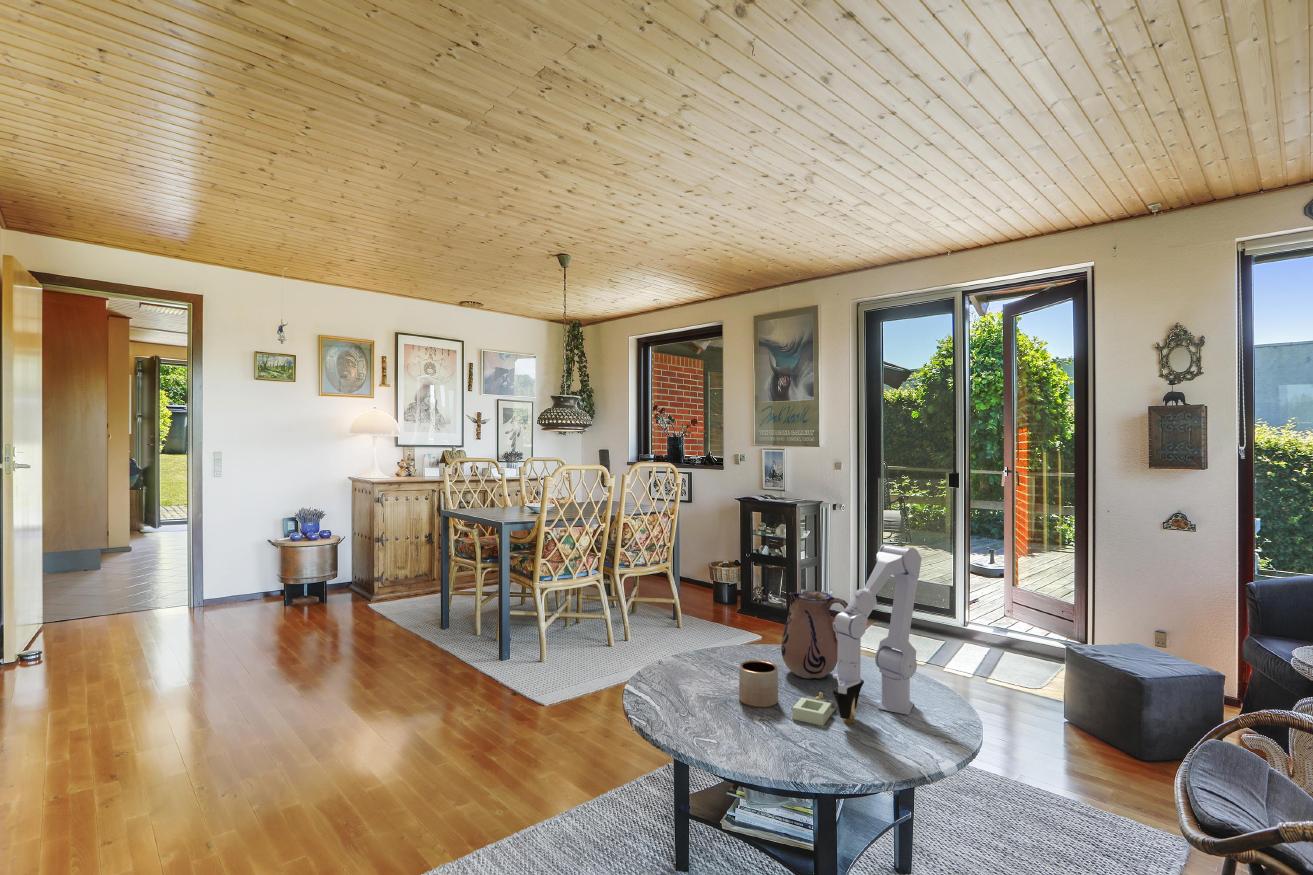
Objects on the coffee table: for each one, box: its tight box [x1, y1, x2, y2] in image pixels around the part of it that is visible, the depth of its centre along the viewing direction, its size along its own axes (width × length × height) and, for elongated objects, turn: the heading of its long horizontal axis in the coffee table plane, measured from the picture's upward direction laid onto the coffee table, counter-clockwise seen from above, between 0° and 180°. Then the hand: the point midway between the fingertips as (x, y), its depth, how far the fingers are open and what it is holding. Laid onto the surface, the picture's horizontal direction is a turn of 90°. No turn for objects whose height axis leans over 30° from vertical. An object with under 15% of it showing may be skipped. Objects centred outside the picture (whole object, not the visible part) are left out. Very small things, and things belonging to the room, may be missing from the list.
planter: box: [738, 659, 779, 709], centre depth 179 cm, size 11×11×10 cm
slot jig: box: [792, 691, 838, 727], centre depth 170 cm, size 14×8×3 cm, turn 151°
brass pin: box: [842, 697, 856, 725], centre depth 165 cm, size 3×3×7 cm
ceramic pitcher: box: [780, 590, 849, 680], centre depth 200 cm, size 18×21×25 cm
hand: (848, 712), depth 165 cm, fingers open, 7 cm apart
